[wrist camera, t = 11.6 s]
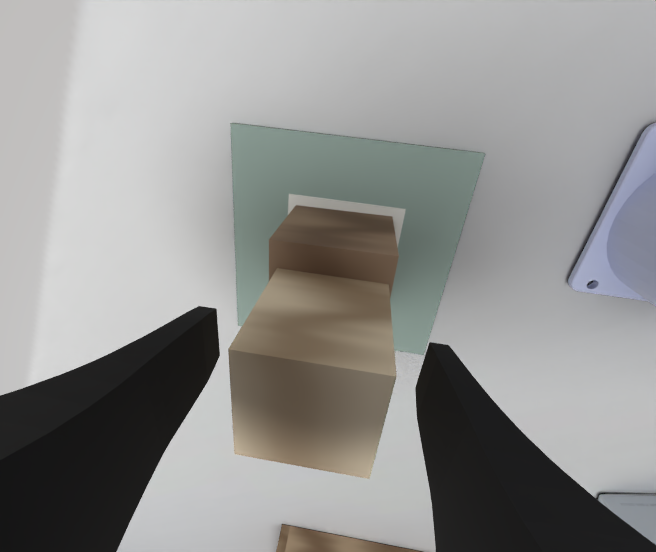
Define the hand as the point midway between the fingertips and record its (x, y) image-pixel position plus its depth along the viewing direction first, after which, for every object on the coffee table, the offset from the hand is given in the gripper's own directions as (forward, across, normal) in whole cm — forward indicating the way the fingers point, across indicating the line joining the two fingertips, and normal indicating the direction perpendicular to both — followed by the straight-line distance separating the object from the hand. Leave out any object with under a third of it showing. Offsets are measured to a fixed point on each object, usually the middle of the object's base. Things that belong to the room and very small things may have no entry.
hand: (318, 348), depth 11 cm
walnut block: (+8, 0, 0) cm, 8 cm away
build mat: (+8, 0, 0) cm, 8 cm away
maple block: (+3, 0, +1) cm, 3 cm away
